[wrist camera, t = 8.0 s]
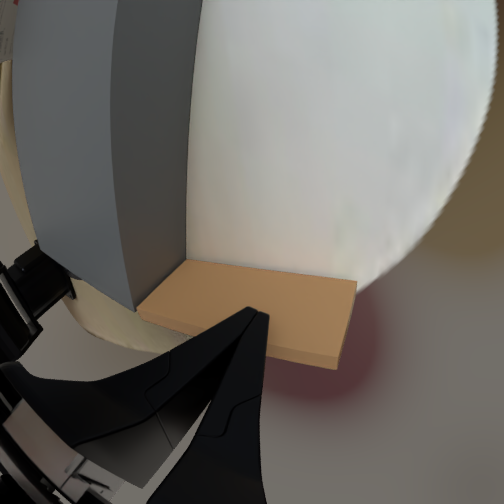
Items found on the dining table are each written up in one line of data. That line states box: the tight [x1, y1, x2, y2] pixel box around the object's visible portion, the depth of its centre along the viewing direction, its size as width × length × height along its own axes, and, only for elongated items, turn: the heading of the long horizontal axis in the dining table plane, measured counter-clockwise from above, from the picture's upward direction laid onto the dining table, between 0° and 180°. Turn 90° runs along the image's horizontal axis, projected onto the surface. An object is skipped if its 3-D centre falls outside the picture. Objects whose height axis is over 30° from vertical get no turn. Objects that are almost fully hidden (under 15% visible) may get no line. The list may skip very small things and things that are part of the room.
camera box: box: [12, 0, 202, 312], centre depth 12 cm, size 21×10×5 cm, turn 172°
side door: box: [136, 259, 357, 370], centre depth 14 cm, size 10×2×5 cm, turn 98°
